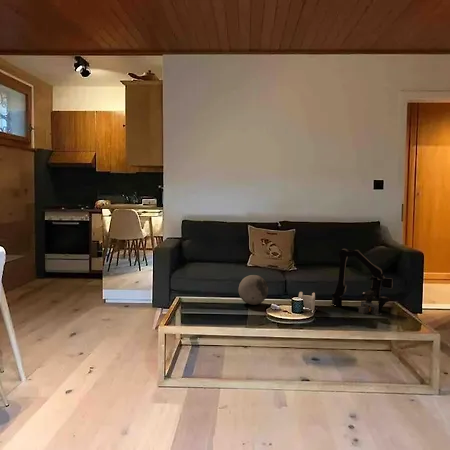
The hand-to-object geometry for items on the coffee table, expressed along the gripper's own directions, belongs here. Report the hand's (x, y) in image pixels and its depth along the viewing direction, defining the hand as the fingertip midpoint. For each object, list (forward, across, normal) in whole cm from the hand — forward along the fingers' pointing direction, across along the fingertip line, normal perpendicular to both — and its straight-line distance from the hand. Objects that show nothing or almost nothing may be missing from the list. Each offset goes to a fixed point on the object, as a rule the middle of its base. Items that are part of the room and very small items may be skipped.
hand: (374, 309), depth 356 cm
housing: (+1, 0, -4) cm, 5 cm away
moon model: (+1, -43, -70) cm, 82 cm away
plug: (+1, 0, -5) cm, 5 cm away
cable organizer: (+2, -16, -46) cm, 48 cm away
